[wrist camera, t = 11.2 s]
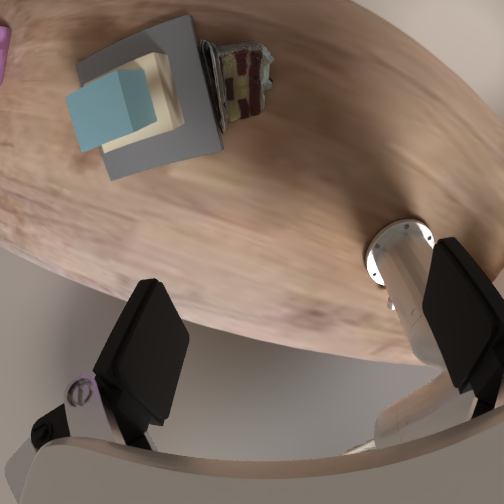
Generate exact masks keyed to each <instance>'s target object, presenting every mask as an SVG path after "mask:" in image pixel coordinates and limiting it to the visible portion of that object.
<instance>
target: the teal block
mask: <svg viewBox="0 0 504 504" xmlns="http://www.w3.org/2000/svg"><path fill="white" fill-rule="evenodd" d="M65 98H66V101H67V105H68V109H69V113H70V116H71V120H72V123H73V126H74V130H75V133H76V136H77V139H78V142H79V145H80V148H81V151H82V153H84V152H86V151H88V150H90V149H93V148H95V147H97V146H100V145H102V144H105V143H107V142H110V141H112V140H115V139H118V138H120V137H123V136H126V135H128V134H131V133H134V132H136V131H138V130H140V129H142V128H144V127H146V126H148V125H150V124H152V123H155V122H157V117H156V113H155V110H154V106H153V102H152V99H151V95H150V91H149V87H148V83H147V79H146V75H145V71H144V70H116V71H114V72H111V73H109V74H107V75H105V76H103V77H101V78H99V79H97V80H95V81H93V82H91V83H89V84H87V85H86V86H84V87H82V88H80V89H78V90H77V91H75V92H73V93H71V94H70V95H68V96H66V97H65Z"/></svg>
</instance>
